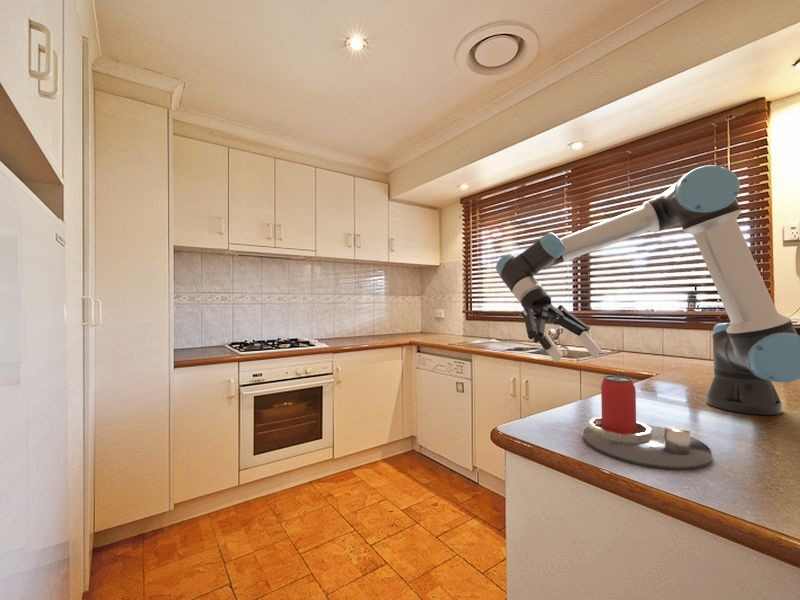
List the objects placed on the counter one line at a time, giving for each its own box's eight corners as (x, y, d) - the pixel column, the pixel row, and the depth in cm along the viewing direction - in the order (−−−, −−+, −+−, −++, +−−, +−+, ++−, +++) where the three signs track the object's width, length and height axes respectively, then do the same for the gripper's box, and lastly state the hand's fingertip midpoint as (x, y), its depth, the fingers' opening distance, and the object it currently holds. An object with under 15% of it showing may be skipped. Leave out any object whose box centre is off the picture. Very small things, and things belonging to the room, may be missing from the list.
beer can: (631, 428, 83) (630, 375, 83) (640, 438, 76) (639, 382, 76) (599, 425, 85) (598, 374, 85) (605, 435, 79) (604, 380, 79)
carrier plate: (673, 429, 85) (672, 407, 85) (742, 474, 63) (741, 444, 63) (572, 424, 89) (571, 403, 89) (604, 465, 67) (603, 437, 67)
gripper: (556, 304, 111) (603, 360, 97) (491, 307, 100) (533, 370, 87) (570, 286, 106) (622, 342, 92) (503, 287, 95) (550, 350, 82)
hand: (579, 356), depth 89 cm, fingers open, 13 cm apart
